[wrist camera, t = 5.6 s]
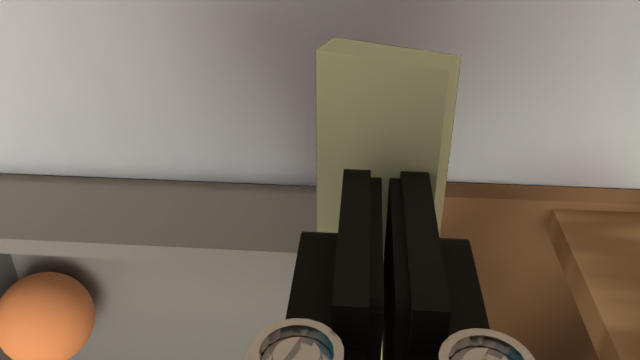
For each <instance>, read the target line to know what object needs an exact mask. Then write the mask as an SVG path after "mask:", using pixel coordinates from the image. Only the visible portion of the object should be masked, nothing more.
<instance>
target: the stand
mask: <svg viewBox="0 0 640 360" xmlns="http://www.w3.org/2000/svg"><path fill="white" fill-rule="evenodd" d="M440 238H456V239H468V240H469V242H470V245H471V249H472V253H473V257H474V262H475V266H476V270H477V275H478V279H479V283H480V288H481V292H482V296H483V301H484V305H485V309H486V313H487V318H488V322H489V326H490V330H494V331H497V332H501V333H504V334H506V335H508V336H510V337H512V338H514V339H516V340H517V341H518V342H520V343H521V344H522V345H523V346H524V347H526V348H527V349H528V350H529V352H530V353H531V355H532V356H533V357H534V359H535V360H640V190H634V189H608V188H583V187H558V186H532V185H507V184H481V183H456V182H446V188H445V196H444V204H443V213H442V221H441V229H440Z"/></svg>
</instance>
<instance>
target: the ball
mask: <svg viewBox="0 0 640 360" xmlns="http://www.w3.org/2000/svg"><path fill="white" fill-rule="evenodd" d="M94 322H95V308H94V303H93V300H92V298H91V296H90V294H89V292H88V291H87V289H86V288H85V287H84V286H83V285H82V284H81V283H80V282H79V281H77V280H76V279H74V278H72V277H70V276H68V275H65V274H62V273H57V272H40V273H35V274H32V275H29V276H26V277H24V278H22V279H20V280H19V281H17V282H16V283H14V284H13V285H12V286H11V287H10V288H9V289H8V290H7V291H6V292H5V293H4V294H3V296H2V297H1V299H0V347H1V349H2V350H3V351H4V353H5V354H7V355H8V356H9V357H10V358H11V359H13V360H68V359H69V358H71V357H72V356H74V355H75V354H76V353H77V352H78V351H79V350H80V349H81V348H82V347H83V346H84V345H85V344H86V342H87V341H88V339H89V337H90V335H91V333H92V330H93V327H94Z"/></svg>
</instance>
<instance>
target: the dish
mask: <svg viewBox="0 0 640 360" xmlns="http://www.w3.org/2000/svg"><path fill="white" fill-rule="evenodd" d="M302 231H306V232H317V186H293V185H268V184H244V183H219V182H194V181H170V180H145V179H120V178H96V177H71V176H46V175H22V174H0V299H1V297H2V296H3V294H4V293H5V292H6V291H7V290H8V289H9V288H10V287H11V286H12V285H13V284H14V283H16V282H17V281H19V280H20V279H22V278H24V277H26V276H29V275H32V274H35V273H40V272H57V273H62V274H65V275H68V276H70V277H72V278H74V279H76V280H77V281H79V282H80V283H81V284H82V285H83V286H84V287H85V288H86V289H87V291H88V292H89V294H90V296H91V298H92V300H93V303H94V308H95V322H94V327H93V330H92V333H91V335H90V337H89V339H88V341H87V342H86V344H85V345H84V346H83V347H82V348H81V349H80V350H79V351H78V352H77V353H76V354H75V355H74V356H72V357H71V358H69V359H68V360H244V358H245V356H246V353H247V351H248V349H249V347H250V344H251V343H252V341H253V340H254V338H255V337H256V335H257V334H258V333H259V332H260V331H262V330H263V329H264V328H266V327H267V326H269V325H271V324H273V323H276V322H278V321H281V320H285V319H286V313H287V308H288V302H289V296H290V291H291V285H292V280H293V274H294V269H295V263H296V258H297V252H298V246H299V241H300V236H301V232H302ZM0 360H13V359H11V358H10V357H9V356H8V355H7V354H5V353H4V351H3V350H2V349H1V347H0Z"/></svg>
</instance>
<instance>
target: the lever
mask: <svg viewBox="0 0 640 360" xmlns="http://www.w3.org/2000/svg"><path fill="white" fill-rule="evenodd" d="M460 63H461V56H458V55H452V54H445V53H438V52H431V51H424V50H417V49H411V48H404V47H397V46H390V45H383V44H377V43H370V42H363V41H356V40H349V39H342V38H336V37H334V38H332V39H331V40H329V41H328V42H326V43H325V44H323V45H322V46H320V47H319V48H317V49H316V137H317V232H328V233H338V227H339V216H340V205H341V193H342V182H343V171H344V169H359V170H371V177H379V178H382V221H383V263H384V249H385V234H386V220H387V205H388V191H389V179H390V178H400V172H401V171H409V172H429V175H430V181H431V187H432V194H433V200H434V206H435V212H436V219H437V225H438V231H439V237H440V229H441V221H442V213H443V204H444V196H445V188H446V179H447V171H448V163H449V154H450V146H451V138H452V129H453V121H454V113H455V104H456V96H457V88H458V79H459V71H460ZM381 360H382V348H381Z"/></svg>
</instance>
